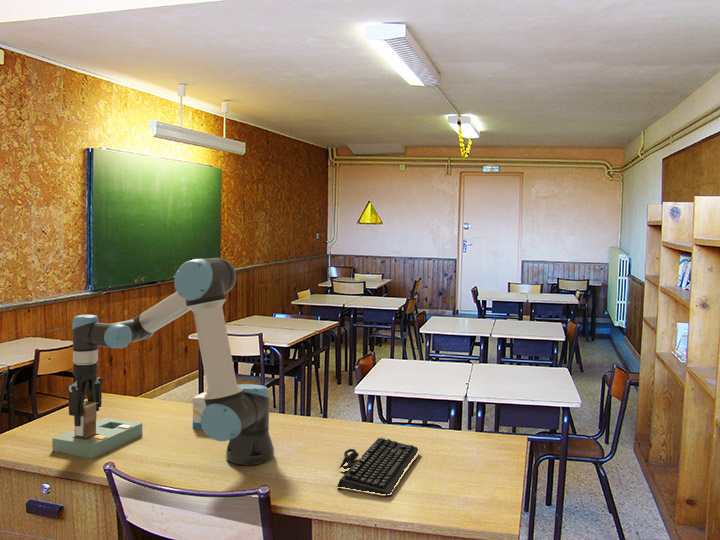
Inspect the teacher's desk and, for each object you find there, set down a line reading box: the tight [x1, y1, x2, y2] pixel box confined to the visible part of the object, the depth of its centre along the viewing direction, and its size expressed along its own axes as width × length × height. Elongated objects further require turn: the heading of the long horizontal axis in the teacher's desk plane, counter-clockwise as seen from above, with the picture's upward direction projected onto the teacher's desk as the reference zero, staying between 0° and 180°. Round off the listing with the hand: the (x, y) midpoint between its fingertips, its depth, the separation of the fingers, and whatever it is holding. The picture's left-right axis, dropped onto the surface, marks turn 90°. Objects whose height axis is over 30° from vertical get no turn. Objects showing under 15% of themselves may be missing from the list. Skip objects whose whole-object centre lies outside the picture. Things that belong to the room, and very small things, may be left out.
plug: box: [75, 400, 97, 439], centre depth 205 cm, size 5×5×11 cm
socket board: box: [51, 417, 143, 460], centre depth 212 cm, size 16×24×5 cm, turn 161°
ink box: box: [192, 392, 207, 430], centre depth 232 cm, size 9×8×12 cm
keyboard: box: [336, 437, 419, 495], centre depth 195 cm, size 37×22×5 cm, turn 161°
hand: (85, 432), depth 206 cm, fingers closed on plug, 4 cm apart
